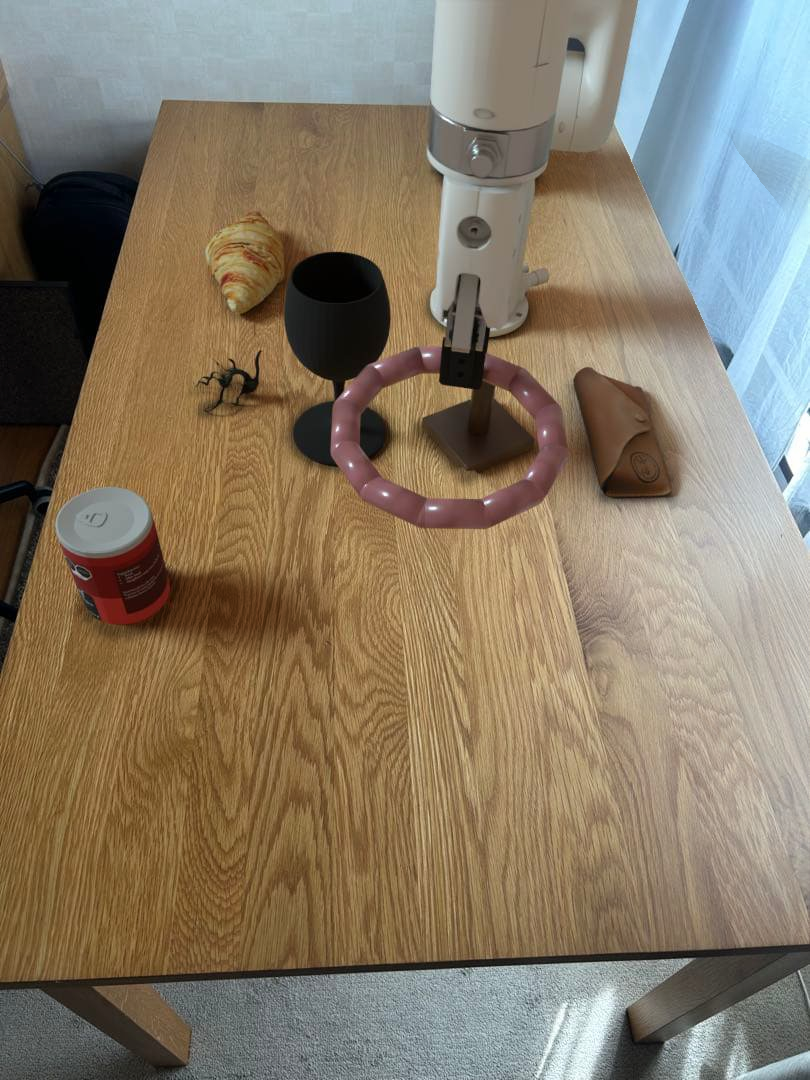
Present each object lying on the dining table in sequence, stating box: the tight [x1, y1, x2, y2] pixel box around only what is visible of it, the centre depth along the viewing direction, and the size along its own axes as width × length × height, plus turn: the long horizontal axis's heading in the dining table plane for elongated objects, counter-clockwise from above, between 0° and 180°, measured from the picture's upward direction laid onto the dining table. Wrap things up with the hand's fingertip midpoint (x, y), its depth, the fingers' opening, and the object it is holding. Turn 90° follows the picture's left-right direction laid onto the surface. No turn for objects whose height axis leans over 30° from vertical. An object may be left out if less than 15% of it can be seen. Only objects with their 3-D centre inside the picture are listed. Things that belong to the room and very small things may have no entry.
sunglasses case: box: [572, 366, 673, 499], centre depth 100 cm, size 18×7×7 cm, turn 3°
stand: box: [421, 381, 536, 473], centre depth 97 cm, size 9×9×10 cm
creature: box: [195, 349, 263, 413], centre depth 101 cm, size 8×5×8 cm
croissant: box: [204, 211, 285, 315], centre depth 117 cm, size 21×10×8 cm, turn 1°
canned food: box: [54, 486, 171, 626], centre depth 80 cm, size 8×8×11 cm
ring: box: [331, 345, 570, 530], centre depth 64 cm, size 17×17×2 cm
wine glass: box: [283, 251, 392, 467], centre depth 92 cm, size 10×10×20 cm
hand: (462, 370), depth 69 cm, fingers closed on ring, 2 cm apart
